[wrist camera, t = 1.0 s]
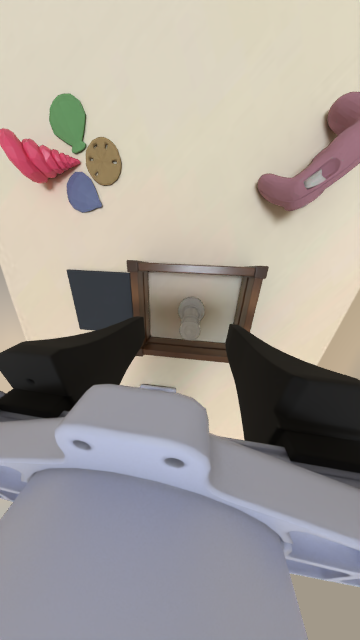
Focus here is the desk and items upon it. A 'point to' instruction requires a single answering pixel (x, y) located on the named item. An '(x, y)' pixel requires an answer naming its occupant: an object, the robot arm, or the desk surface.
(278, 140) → the desk surface
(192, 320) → the chess piece
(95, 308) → the mat
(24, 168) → the toy pieces
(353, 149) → the video game controller
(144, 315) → the crate
